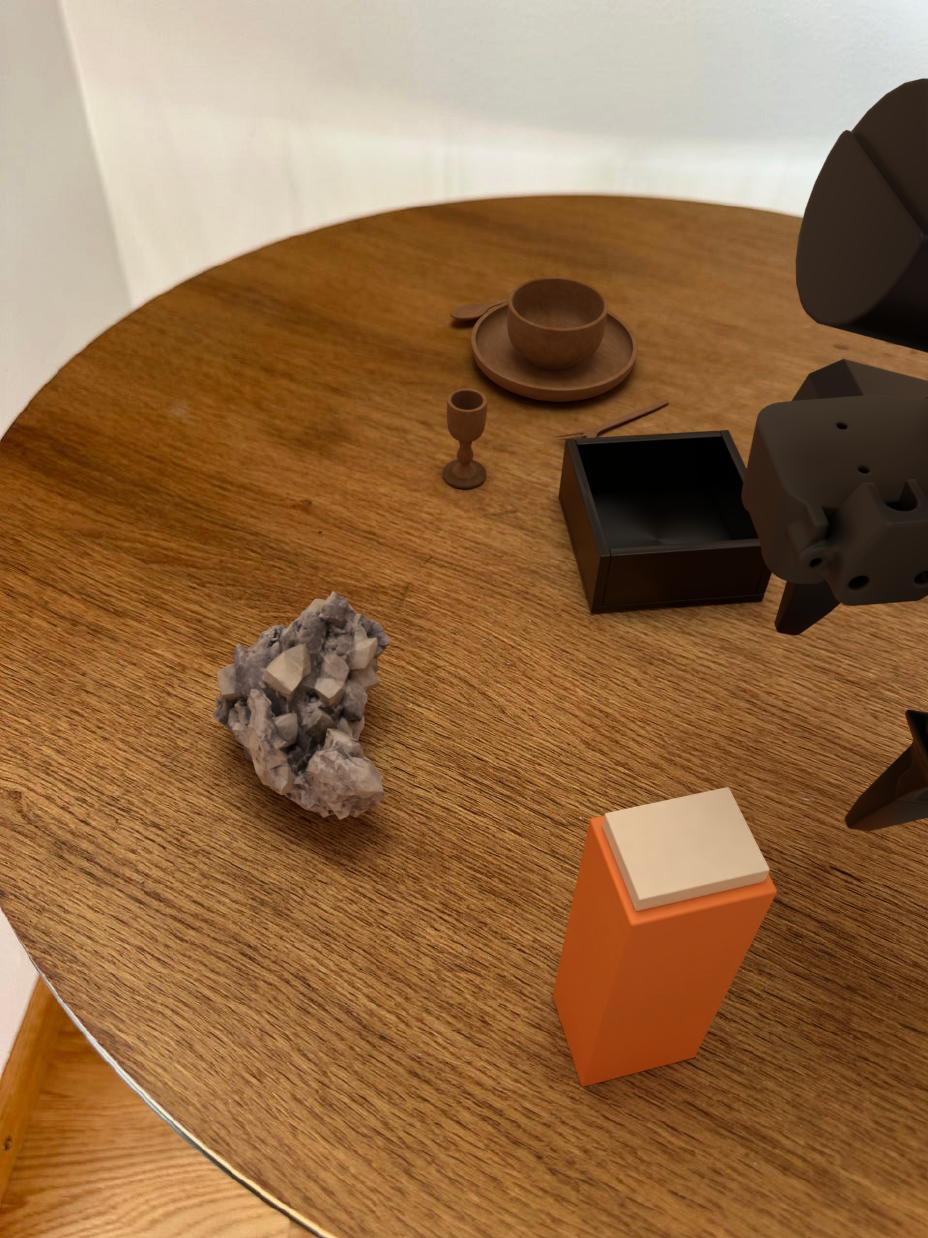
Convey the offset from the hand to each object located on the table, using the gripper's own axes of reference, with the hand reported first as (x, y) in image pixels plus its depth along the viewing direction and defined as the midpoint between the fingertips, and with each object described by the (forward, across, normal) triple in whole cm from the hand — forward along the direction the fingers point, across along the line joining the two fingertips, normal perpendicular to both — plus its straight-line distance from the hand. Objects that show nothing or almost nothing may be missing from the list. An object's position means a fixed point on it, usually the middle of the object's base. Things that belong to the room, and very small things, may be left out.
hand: (818, 721), depth 41 cm
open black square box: (+12, -23, +4) cm, 26 cm away
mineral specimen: (+18, -9, -16) cm, 26 cm away
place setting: (+14, -40, -3) cm, 42 cm away
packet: (+14, +6, -3) cm, 16 cm away
